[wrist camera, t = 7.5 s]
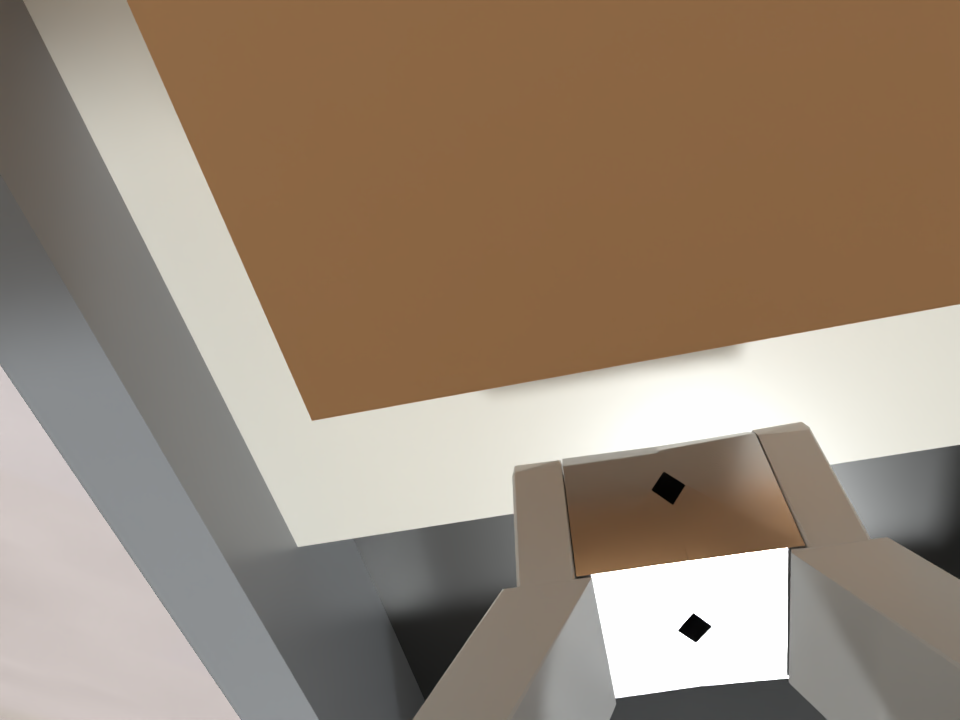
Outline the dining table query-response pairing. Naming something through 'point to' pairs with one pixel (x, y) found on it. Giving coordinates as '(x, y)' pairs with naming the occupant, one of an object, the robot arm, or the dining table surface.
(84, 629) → the dining table surface
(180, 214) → the tray box
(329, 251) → the wooden block
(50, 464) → the dining table surface
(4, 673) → the dining table surface
